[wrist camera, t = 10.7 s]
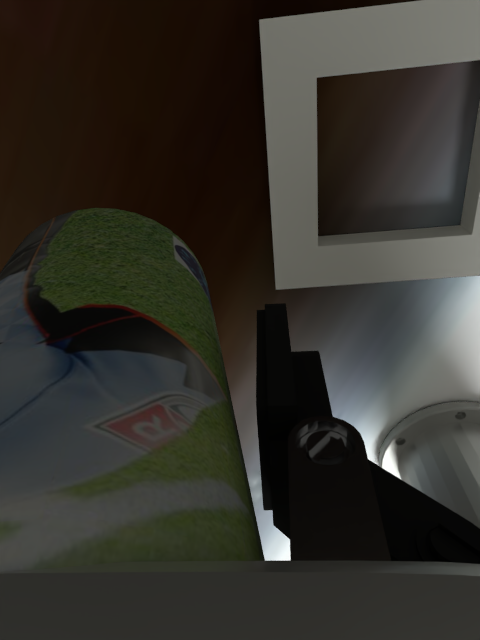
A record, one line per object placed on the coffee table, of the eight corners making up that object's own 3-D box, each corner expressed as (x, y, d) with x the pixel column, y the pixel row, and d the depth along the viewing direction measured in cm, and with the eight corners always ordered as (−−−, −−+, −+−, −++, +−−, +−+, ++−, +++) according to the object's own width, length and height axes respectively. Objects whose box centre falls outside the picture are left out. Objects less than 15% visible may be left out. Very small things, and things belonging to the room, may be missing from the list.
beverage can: (-6, 211, 13) (-817, 772, 3) (236, 174, 13) (231, 710, 2) (68, 373, 17) (-203, 901, 6) (263, 349, 16) (306, 886, 6)
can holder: (496, 261, 32) (510, 273, 30) (275, 278, 33) (275, 289, 31) (553, -12, 24) (576, -19, 22) (259, 22, 25) (259, 19, 23)
